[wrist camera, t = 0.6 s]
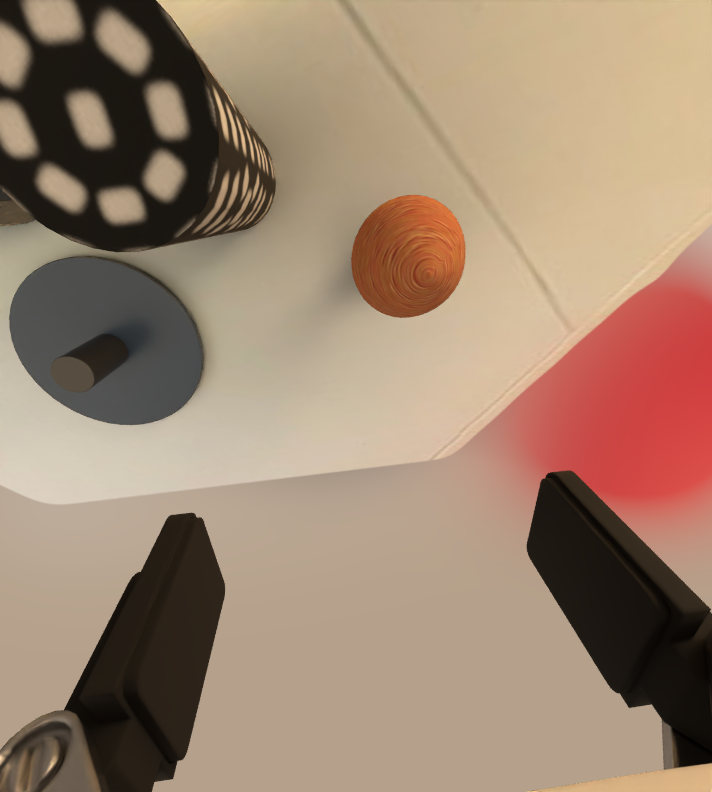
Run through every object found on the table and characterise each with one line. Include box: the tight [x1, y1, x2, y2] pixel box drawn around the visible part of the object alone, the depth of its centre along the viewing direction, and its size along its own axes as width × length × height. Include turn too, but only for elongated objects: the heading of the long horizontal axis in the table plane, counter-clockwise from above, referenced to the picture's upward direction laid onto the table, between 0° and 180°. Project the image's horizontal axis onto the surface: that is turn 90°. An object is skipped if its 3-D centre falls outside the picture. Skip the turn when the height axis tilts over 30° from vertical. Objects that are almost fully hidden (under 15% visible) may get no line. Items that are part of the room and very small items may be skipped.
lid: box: [9, 257, 203, 425], centre depth 32 cm, size 17×17×7 cm
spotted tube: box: [0, 0, 276, 252], centre depth 21 cm, size 8×8×20 cm
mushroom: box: [351, 195, 465, 318], centre depth 27 cm, size 8×8×15 cm
